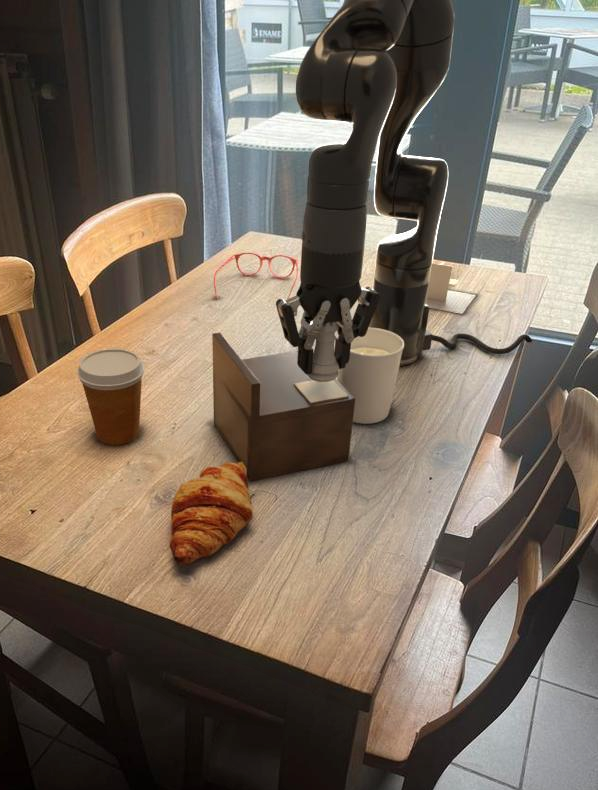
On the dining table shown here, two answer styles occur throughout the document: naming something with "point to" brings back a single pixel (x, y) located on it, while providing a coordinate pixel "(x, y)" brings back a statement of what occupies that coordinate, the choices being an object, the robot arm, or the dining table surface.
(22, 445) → the dining table surface
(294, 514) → the dining table surface
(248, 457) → the walnut shelf
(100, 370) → the disposable coffee cup
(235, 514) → the croissant
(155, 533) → the dining table surface
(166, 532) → the dining table surface
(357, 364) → the candle holder
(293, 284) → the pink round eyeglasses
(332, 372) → the rook chess piece
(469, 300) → the architectural model
